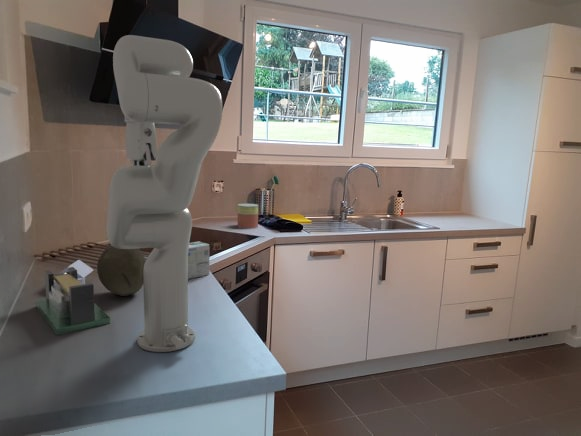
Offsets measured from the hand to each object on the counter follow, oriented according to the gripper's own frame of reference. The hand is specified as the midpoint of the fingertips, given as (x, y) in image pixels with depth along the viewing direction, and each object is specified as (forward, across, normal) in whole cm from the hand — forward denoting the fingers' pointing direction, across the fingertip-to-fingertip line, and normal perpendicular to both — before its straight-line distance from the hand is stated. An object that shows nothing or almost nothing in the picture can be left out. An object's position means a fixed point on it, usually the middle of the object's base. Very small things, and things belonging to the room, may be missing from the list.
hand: (140, 186), depth 121 cm
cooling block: (+32, +1, +19) cm, 37 cm away
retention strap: (+25, +1, +19) cm, 31 cm away
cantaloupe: (+33, +8, +2) cm, 34 cm away
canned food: (+33, +76, -93) cm, 125 cm away
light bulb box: (+33, +14, -23) cm, 43 cm away
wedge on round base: (+33, +25, +12) cm, 43 cm away
